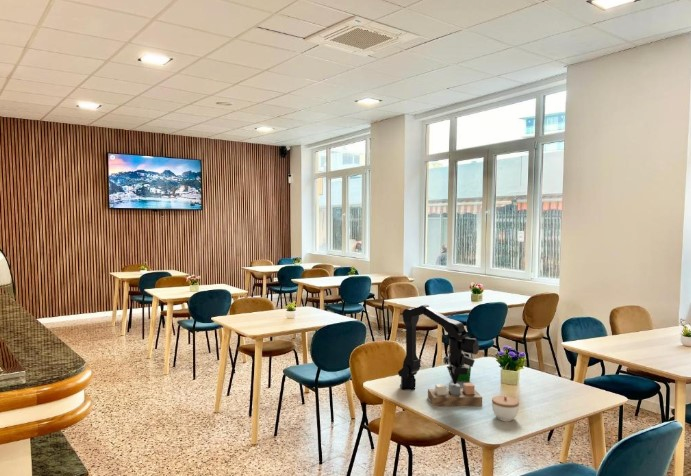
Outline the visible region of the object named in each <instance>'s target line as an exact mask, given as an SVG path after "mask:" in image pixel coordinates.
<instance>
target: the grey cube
mask: <svg viewBox="0 0 691 476" xmlns="http://www.w3.org/2000/svg"><path fill="white" fill-rule="evenodd" d="M448 389H449V392H450V394H451V395H460V389H461V385H460V384H459V383H458V382H457V383H456V384H454V383H453V382H452V383H449V386H448Z"/></svg>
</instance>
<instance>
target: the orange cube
mask: <svg viewBox="0 0 691 476" xmlns="http://www.w3.org/2000/svg"><path fill="white" fill-rule="evenodd" d="M462 389H463V392H464V393H465V394H466V395H473V394H474V389H475V385H474V384H473V383H472V382H463V383H462Z"/></svg>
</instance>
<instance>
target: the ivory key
mask: <svg viewBox="0 0 691 476" xmlns="http://www.w3.org/2000/svg"><path fill="white" fill-rule="evenodd" d="M434 386H435V388H434V389H435V393H436V394H437V395H446V389H447V385H446V384H444V383H435V384H434Z"/></svg>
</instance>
